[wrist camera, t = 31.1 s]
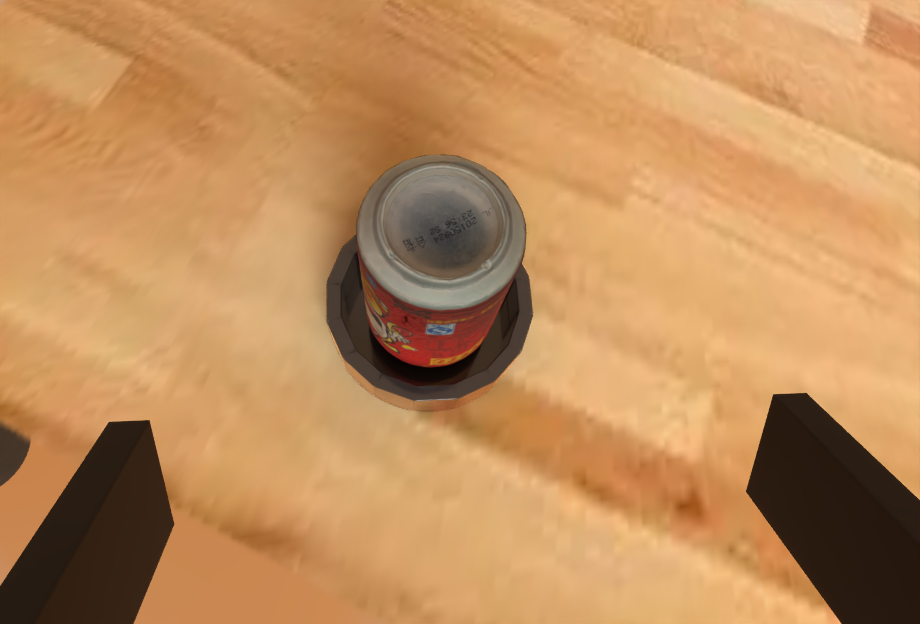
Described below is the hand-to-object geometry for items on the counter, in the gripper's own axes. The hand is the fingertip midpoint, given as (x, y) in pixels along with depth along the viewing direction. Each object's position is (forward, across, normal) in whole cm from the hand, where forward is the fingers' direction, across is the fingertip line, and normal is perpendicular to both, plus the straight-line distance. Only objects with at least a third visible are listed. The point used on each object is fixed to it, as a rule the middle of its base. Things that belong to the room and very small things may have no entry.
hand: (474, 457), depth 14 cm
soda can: (+22, 0, -8) cm, 23 cm away
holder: (+22, 0, -8) cm, 24 cm away
